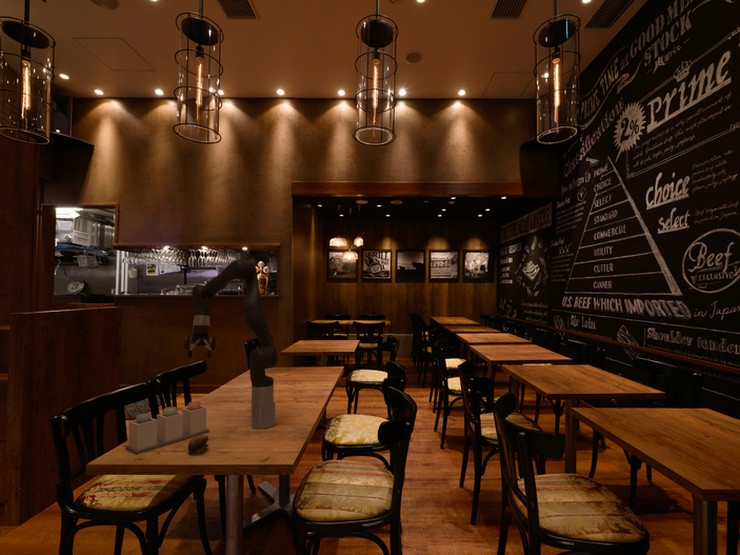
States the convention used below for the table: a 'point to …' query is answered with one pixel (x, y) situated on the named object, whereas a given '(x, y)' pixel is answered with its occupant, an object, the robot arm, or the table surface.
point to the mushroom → (198, 444)
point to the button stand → (166, 430)
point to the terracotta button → (194, 405)
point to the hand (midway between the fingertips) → (199, 358)
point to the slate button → (142, 418)
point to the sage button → (170, 411)
